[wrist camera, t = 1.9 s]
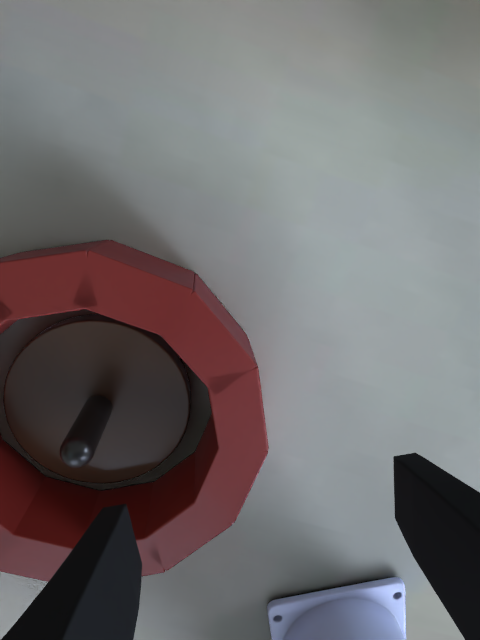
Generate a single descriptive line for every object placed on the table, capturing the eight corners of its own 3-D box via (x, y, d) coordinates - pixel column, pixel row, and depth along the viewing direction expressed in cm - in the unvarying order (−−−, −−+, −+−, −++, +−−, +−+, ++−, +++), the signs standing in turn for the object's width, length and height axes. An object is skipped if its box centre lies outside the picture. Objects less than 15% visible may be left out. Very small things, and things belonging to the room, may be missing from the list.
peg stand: (203, 455, 20) (203, 530, 16) (40, 483, 20) (-9, 568, 15) (174, 301, 18) (164, 335, 13) (-11, 328, 17) (-87, 375, 13)
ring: (269, 494, 21) (282, 551, 18) (-3, 542, 20) (-44, 611, 17) (232, 222, 17) (240, 227, 14) (-110, 270, 16) (-193, 289, 13)
